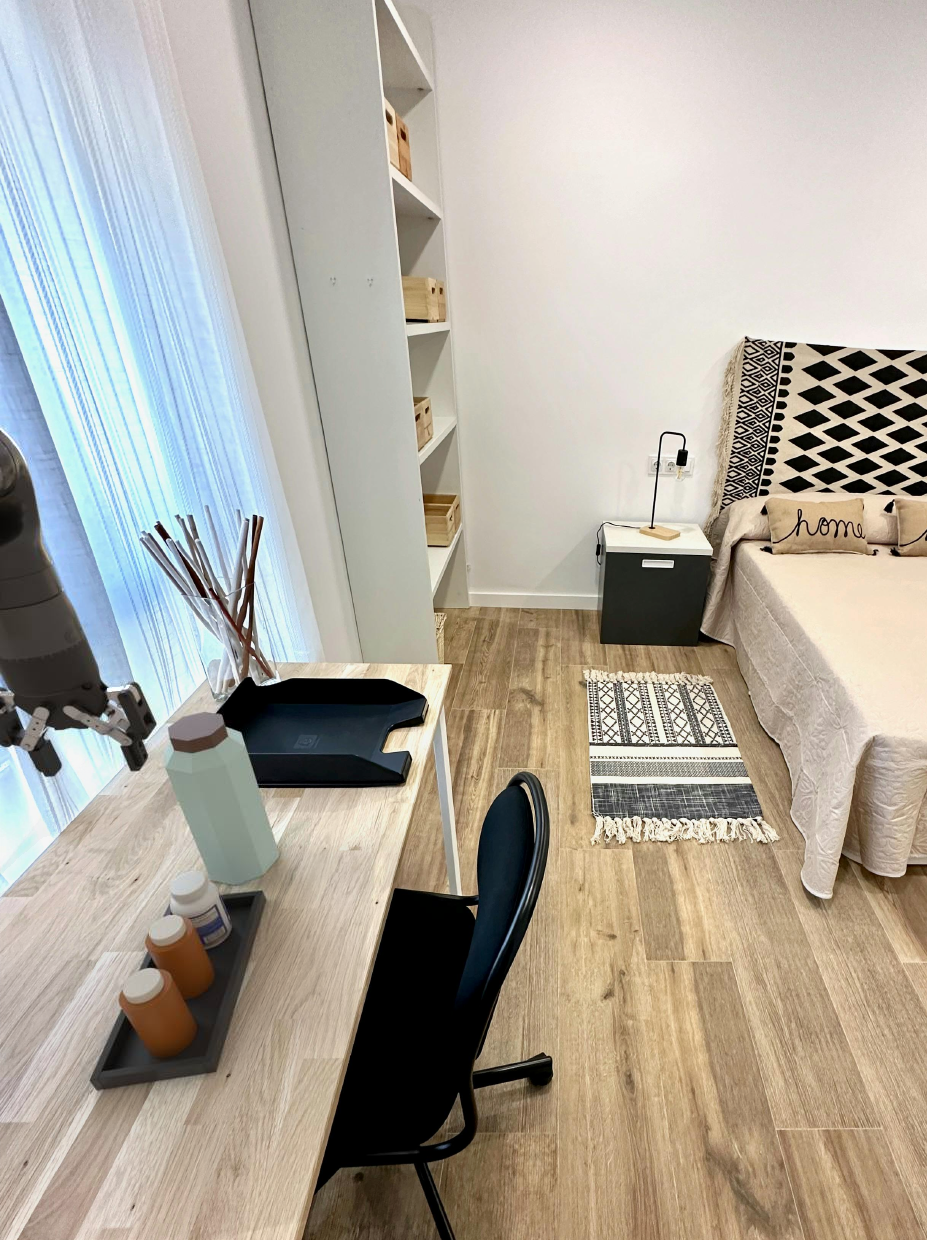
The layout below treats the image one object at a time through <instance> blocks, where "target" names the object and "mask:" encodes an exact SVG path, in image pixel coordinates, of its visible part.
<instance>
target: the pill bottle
mask: <svg viewBox="0 0 927 1240" xmlns="http://www.w3.org/2000/svg"><path fill="white" fill-rule="evenodd" d="M168 890H169V894H170V895H171V899H170V901H169V903H170V909H171V912H172V914H173V915H178V916H180V917H185V918H188V919H190V920H191V921H192V923H193V925H194V927H195V929H196V931H197V933H198V936H199V938H200V940H201V942H202V944H203V947H204V949H205V950H206V949H210V948H213V947H215V946H217V945H219V944H220V943H222V942H223V941H224V940H225V939H226V938H227V937H228V935H229V934H230V932H231V929H232V922H231V919H230V916H229V914H228V912H227V909H226V907H225V905H224V902H223V900H222V897H221V895H222V894H221V892H220V890H219V888H218V887H217V885H216V884H215V883H213V882H212V881H209V880H208V877H207V875H206V874H205V873H204V872H203V871H201V870H189V871H185V872H183V873H181V874H178V875H177V876H176V877H175V878H174V879H172V881H171V882H170V884H169V887H168Z"/></svg>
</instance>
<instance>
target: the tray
mask: <svg viewBox="0 0 927 1240" xmlns="http://www.w3.org/2000/svg"><path fill="white" fill-rule="evenodd" d="M221 897H222V900H223V902H224V905H225V907H226V909H227V912H228V914H229V916H230V919H231V922H232V929H231V932H230V934H229V935H228V937H227V938H226V939H225V940H224V941H223V942H222V943H220V944H219V945H217V946H215V947H213V948H210V949H206V950H205V951H206V953H207V955H208V957H209V960H210V962H211V964H212V966H213V968H214V971H215V978H214V981H213V983H212V984H211V986H210V987H209V988H208V989H207V990H206V991H205V992H204V993H202V994H201V995H199V996H197V997H195V998H192V999H187V1000H184V1001H185V1003H186V1005H187V1007H188V1009H189V1011H190V1013H191V1015H192V1017H193V1019H194V1021H195V1022H196V1025H197V1032H196V1035H195V1037H194V1039H193V1041H192V1042H191V1044H190V1045H189V1046H188V1047H187V1048H186V1049H184V1050H183V1051H182V1052H180V1053H179V1054H177V1055H175V1056H172V1057H169V1058H165V1059H159V1058H155V1057H153V1056H152V1055H151V1054H150V1053H149V1051H148V1050H147V1048H146V1047H145V1045H144V1043H143V1042H142V1040H141V1038H140V1037H139V1035H138V1034H137V1032H136V1030H135V1029H134V1027H133V1026H132V1024H131V1022H130V1021H129V1019H128V1018H127V1016H126V1014H125V1013H124V1011H123V1009H122V1008H121V1009H120V1011H119V1014H118V1015H117V1018H116V1021H115V1022H114V1025H113V1027H112V1030H111V1031H110V1034H109V1036H108V1038H107V1040H106V1042H105V1045H104V1046H103V1048H102V1051H101V1054H100V1056H99V1058H98V1061H97V1063H96V1065H95V1067H94V1069H93V1071H92V1073H91V1075H90V1078H89V1082H90V1083H91V1085H92V1086H93V1087H94V1089H95V1090H96V1091H102V1090H110V1089H116V1088H117V1089H118V1088H122V1087H128V1086H129V1087H130V1086H136V1085H141V1084H148V1083H155V1082H161V1081H168V1080H174V1079H181V1078H187V1077H188V1078H189V1077H194V1076H201V1075H208V1074H212V1073H213V1074H215V1073H217V1070H218V1067H219V1064H220V1061H221V1057H222V1053H223V1050H224V1047H225V1043H226V1040H227V1037H228V1033H229V1030H230V1026H231V1023H232V1019H233V1016H234V1012H235V1009H236V1005H237V1003H238V998H239V995H240V991H241V989H242V985H243V982H244V978H245V974H246V972H247V968H248V964H249V961H250V958H251V954H252V951H253V948H254V945H255V944H254V943H255V940H256V938H257V934H258V930H259V927H260V923H261V921H262V917H263V913H264V909H265V906H266V903H267V898H266V896H265V893H264V890H263V889H261V890H252V891H243V892H234V893H226V894H225V893H224V894H221ZM169 915H173V914H172V912H171V909H170V902H169V903H168V906H167V908H166V910H165V911H164V914H163V916H162V918H163V917H165V916H169ZM147 968H154V969H158V968H157V966H156V964H155V963H154V961H153V959H152V957H151V955H150V953H149V951H148V950H147V952H146V954H145V956H144V958H143V960H142V963H141V965H140V967H139V969H138V971H140V970H143V969H147Z"/></svg>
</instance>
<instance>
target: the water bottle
mask: <svg viewBox="0 0 927 1240" xmlns="http://www.w3.org/2000/svg"><path fill="white" fill-rule="evenodd" d="M167 731H168V739H169V740H170V742H169V744H168V745H167V747H166V748H165V750H164V751H163V752H162V755H163V763H164V769H165V771H166V774H167V776H168V779H169V781H170V784H171V786H172V788H173V791H174V793H175V796H176V798H177V801H178V803H179V805H180V808H181V811H182V813H183V815H184V817H185V821H186V823H187V825H188V828H189V830H190V833H191V835H192V837H193V840H194V843H195V845H196V847H197V850H198V853H199V855H200V857H201V859H202V862H203V864H204V867H205V869H206V872H207V875H208V877H209V879H210V880H211V881H213V882H217V883H222V884H227V885H231V886H239V885H242V884H244V883H247V882H249V881H252V880H255V879H257V878H260V877H263V876H265V874H266V873H267V872H268V871H269V870H270V869H271V868H272V866H273V865H274V864H275V863H276V862H277V860H279V858H280V857H281V856H280V855H281V854H280V852H279V849H278V846H277V842H276V838H275V836H274V833H273V829H272V825H271V823H270V819H269V815H268V813H267V811H266V807H265V804H264V801H263V798H262V794H261V791H260V788H259V785H258V782H257V778H256V775H255V772H254V769H253V766H252V762H251V759H250V756H249V753H248V750H247V747H246V743H245V741H244V737H243V734H242V732H241V731H238V730H235V729H233V728H230V727H227V726H226V723H225V721H224V718H223V714H220V713H215V712H208V711H202V712H197V713H193V714H190V715H185V716H182V717H180V718H179V719H177V721H175V722H174V723H172V724H171V725H169V726H168V727H167Z"/></svg>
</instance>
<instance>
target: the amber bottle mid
mask: <svg viewBox="0 0 927 1240" xmlns="http://www.w3.org/2000/svg"><path fill="white" fill-rule="evenodd" d="M144 943H145V944H144V946H145V947H146V950H147V952H148V951H149V953H150V955H151V957H152V959H153V961H154V963H155V964H156V966H157V968H158V969H162V970H165V971H167V972H169V973H170V975H171V977H172V978H173V980H174V982H175V984H176V986H177V988H178V990H179V992H180V994H181V996H182V998H183V999H184V1000H187V999H192V998H195V997H197V996H199V995H201V994H202V993H204V992H205V991H206V990H207V989H208V988H209V987H210V986H211V984H212V983H213V981H214V978H215V971H214V968H213V966H212V964H211V962H210V960H209V957H208V955H207V953H206V951H205V949H204V947H203V944H202V942H201V940H200V938H199V936H198V933H197V931H196V929H195V927H194V925H193V923H192V921H191V920H190V919H188V918H185V917H180V916H178V915H169V916H165V917H163V916H162V917H161V918H159V919H157V920H156V921H154V923H152V924H151V926H150V927H149V929H148V933H147V935H146V936H145V941H144Z"/></svg>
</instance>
